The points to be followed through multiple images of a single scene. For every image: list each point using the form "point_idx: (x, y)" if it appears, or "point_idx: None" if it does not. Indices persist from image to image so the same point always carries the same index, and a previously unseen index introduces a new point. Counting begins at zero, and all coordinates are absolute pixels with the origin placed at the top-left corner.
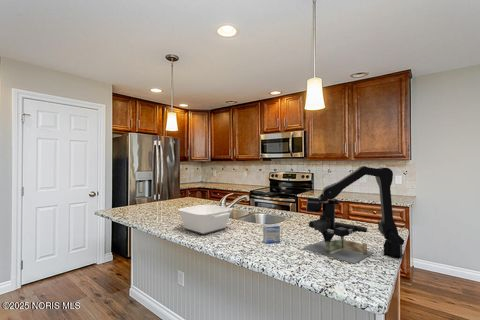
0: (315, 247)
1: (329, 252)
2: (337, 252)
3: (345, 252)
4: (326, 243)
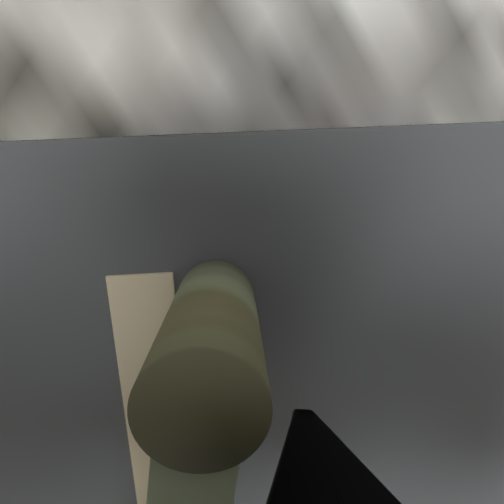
0: (486, 313)
1: (168, 279)
2: (95, 396)
3: (20, 490)
4: (205, 326)
